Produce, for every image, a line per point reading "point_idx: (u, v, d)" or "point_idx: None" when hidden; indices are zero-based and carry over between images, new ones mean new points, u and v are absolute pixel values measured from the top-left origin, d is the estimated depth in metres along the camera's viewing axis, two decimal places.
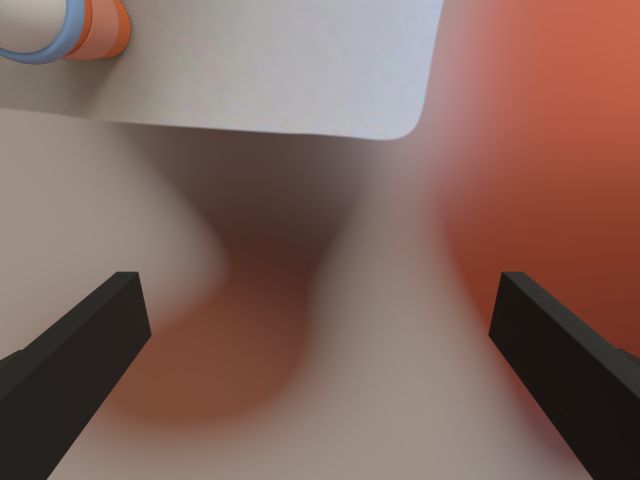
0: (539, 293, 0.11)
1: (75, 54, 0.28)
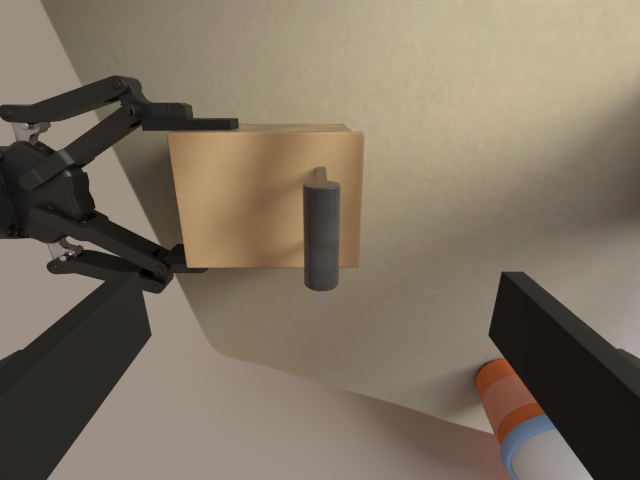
0: (539, 293, 0.11)
1: None
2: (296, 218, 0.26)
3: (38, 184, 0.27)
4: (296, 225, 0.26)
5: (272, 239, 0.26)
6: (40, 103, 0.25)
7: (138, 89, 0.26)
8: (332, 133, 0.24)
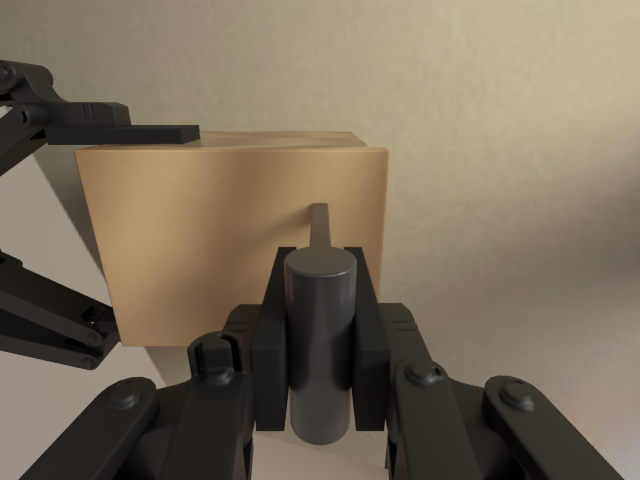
0: (358, 261, 0.13)
1: None
2: None
3: None
4: None
5: None
6: None
7: (44, 81, 0.17)
8: (338, 151, 0.15)
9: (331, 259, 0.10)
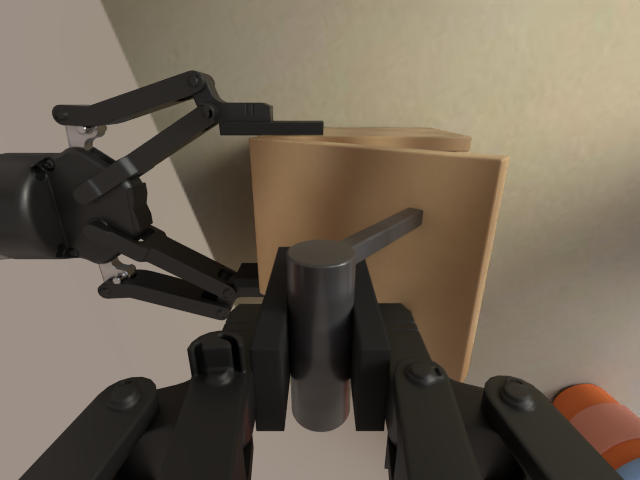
0: None
1: None
2: (373, 276, 0.17)
3: (95, 197, 0.23)
4: None
5: None
6: (102, 103, 0.21)
7: (213, 86, 0.23)
8: (441, 155, 0.13)
9: (328, 254, 0.10)
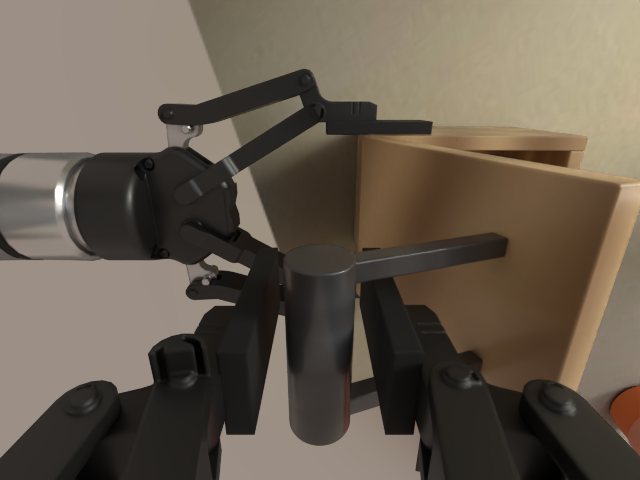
0: None
1: None
2: (449, 306, 0.15)
3: (196, 198, 0.23)
4: (447, 317, 0.15)
5: None
6: (209, 102, 0.21)
7: None
8: (537, 171, 0.10)
9: (322, 262, 0.09)
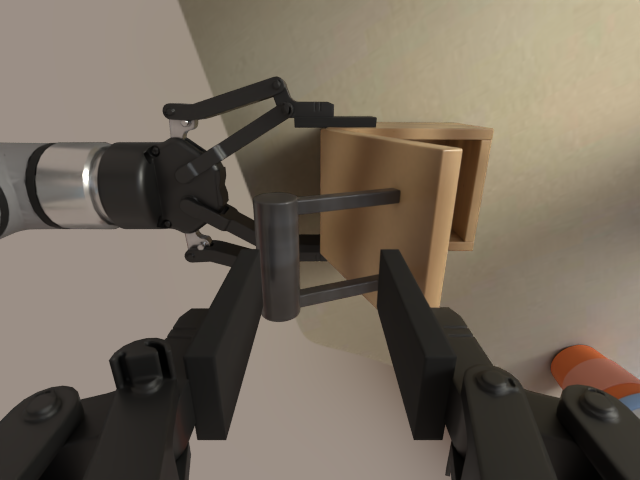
0: (399, 264, 0.13)
1: None
2: (374, 245, 0.21)
3: (193, 177, 0.29)
4: (374, 253, 0.21)
5: (358, 258, 0.23)
6: (202, 102, 0.27)
7: (287, 89, 0.28)
8: (410, 145, 0.16)
9: (276, 199, 0.15)
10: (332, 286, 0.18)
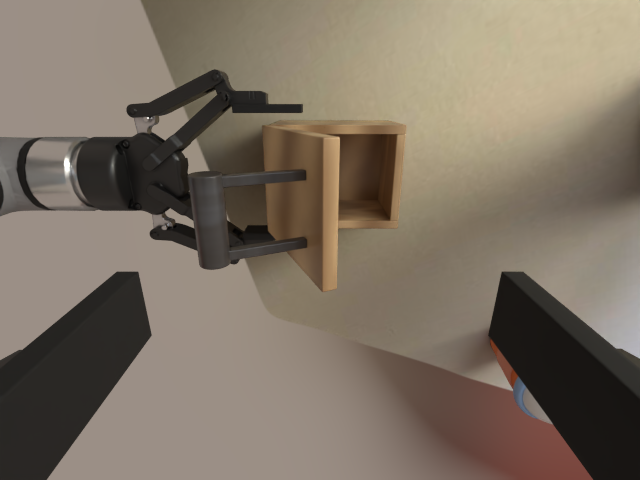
0: (539, 293, 0.11)
1: None
2: (296, 216, 0.26)
3: (157, 166, 0.34)
4: (296, 223, 0.27)
5: (289, 229, 0.28)
6: (157, 99, 0.33)
7: (227, 80, 0.33)
8: (308, 135, 0.22)
9: (205, 175, 0.21)
10: (257, 245, 0.24)
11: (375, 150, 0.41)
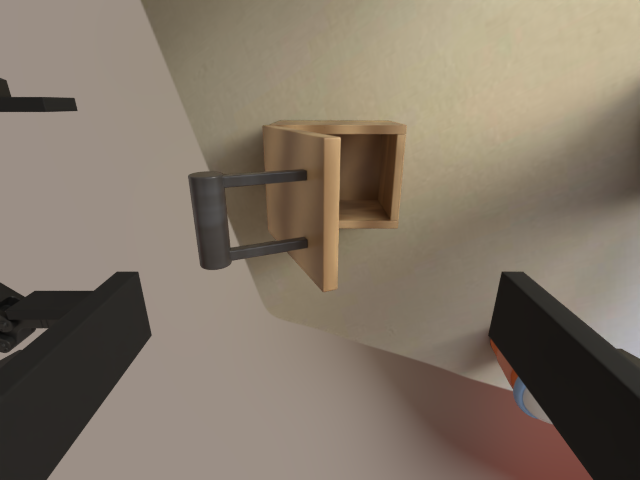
0: (539, 293, 0.11)
1: None
2: (297, 216, 0.26)
3: None
4: (297, 223, 0.27)
5: (289, 229, 0.28)
6: None
7: None
8: (309, 135, 0.22)
9: (205, 175, 0.21)
10: (258, 245, 0.24)
11: (375, 150, 0.41)
